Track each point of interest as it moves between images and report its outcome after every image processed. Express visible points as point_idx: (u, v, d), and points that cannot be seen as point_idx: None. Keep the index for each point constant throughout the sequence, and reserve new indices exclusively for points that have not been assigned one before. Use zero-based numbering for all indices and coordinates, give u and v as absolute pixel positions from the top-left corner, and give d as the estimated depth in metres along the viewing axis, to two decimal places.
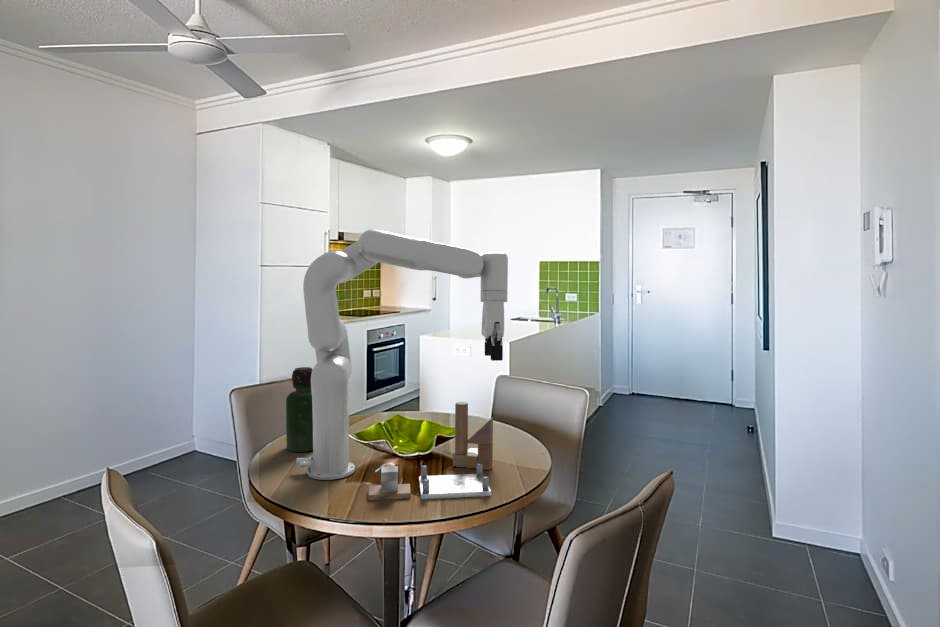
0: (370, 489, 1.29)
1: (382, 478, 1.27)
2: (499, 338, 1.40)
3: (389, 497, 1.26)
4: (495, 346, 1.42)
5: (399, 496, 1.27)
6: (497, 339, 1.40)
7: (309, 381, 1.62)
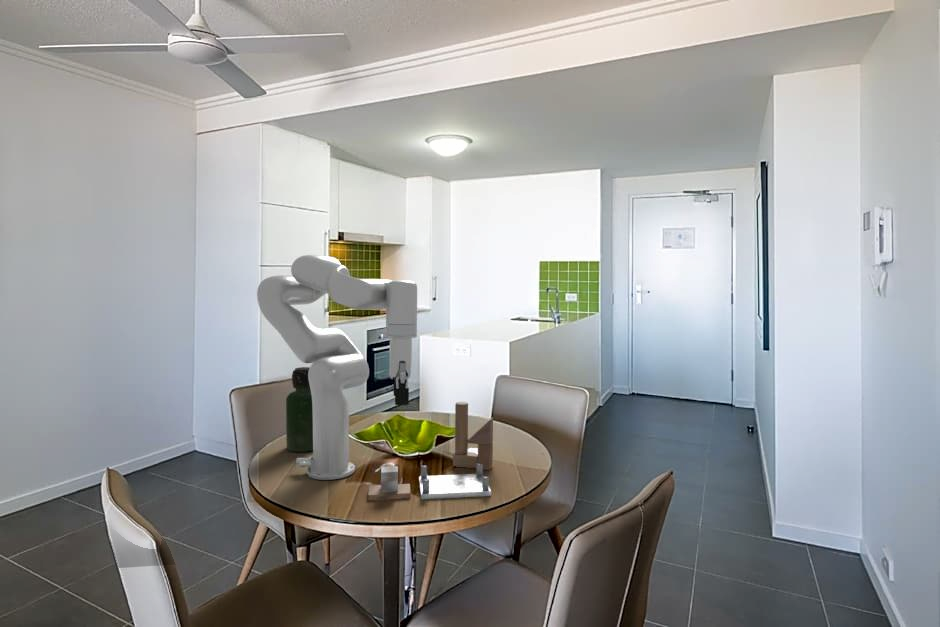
0: (370, 489, 1.29)
1: (382, 478, 1.27)
2: (403, 380, 1.22)
3: (389, 497, 1.26)
4: (399, 389, 1.24)
5: (399, 496, 1.27)
6: (401, 382, 1.22)
7: None
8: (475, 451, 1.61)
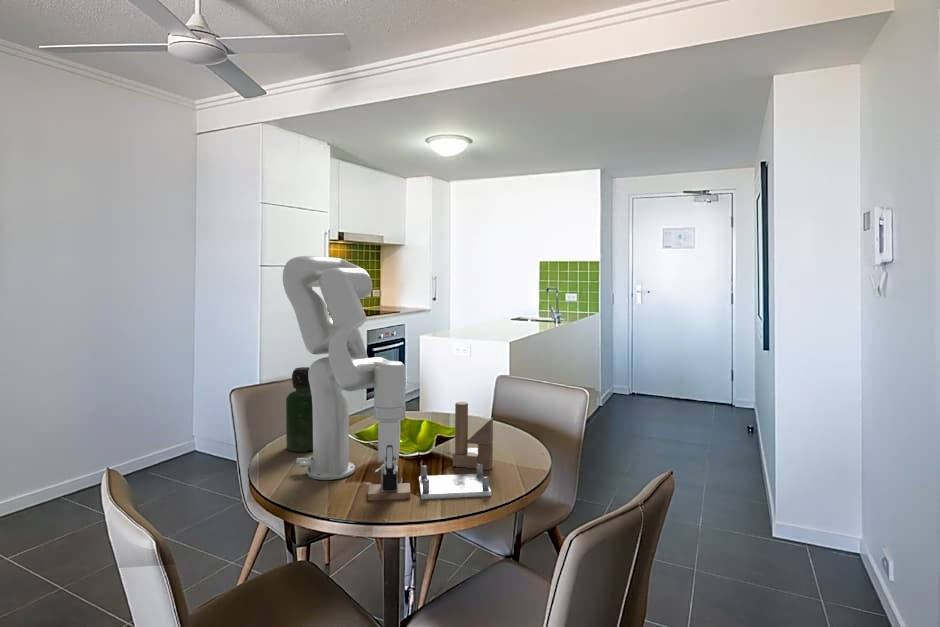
0: (370, 488, 1.29)
1: (382, 477, 1.27)
2: None
3: (389, 496, 1.26)
4: (387, 475, 1.26)
5: (399, 495, 1.27)
6: (388, 470, 1.24)
7: None
8: (474, 451, 1.61)
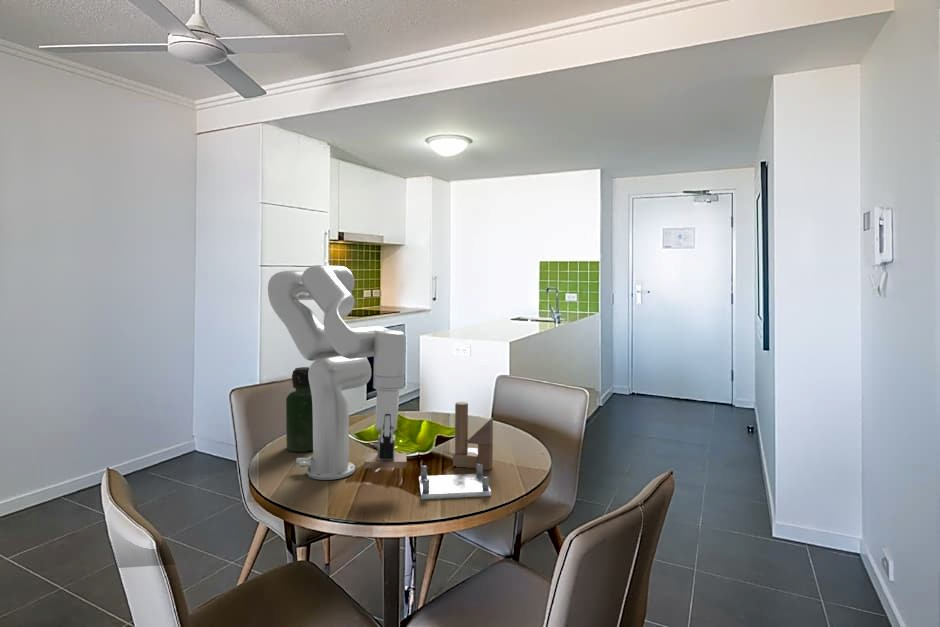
0: (366, 456, 1.29)
1: (379, 446, 1.27)
2: None
3: (385, 465, 1.27)
4: (384, 444, 1.26)
5: (395, 464, 1.27)
6: (385, 438, 1.24)
7: None
8: (473, 451, 1.61)
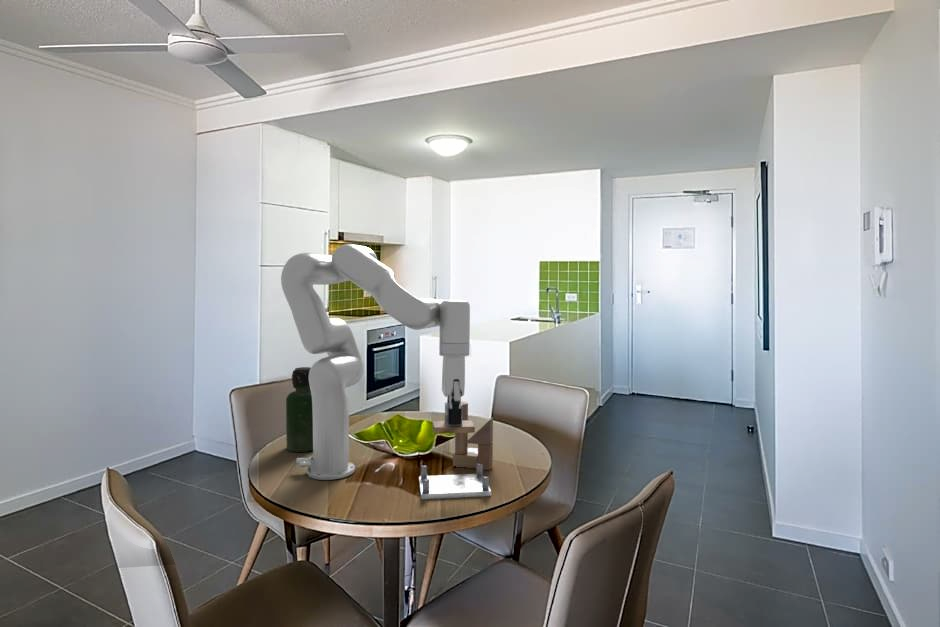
0: (434, 423, 1.32)
1: (447, 412, 1.30)
2: None
3: (454, 430, 1.30)
4: (453, 409, 1.29)
5: (464, 429, 1.30)
6: (454, 403, 1.27)
7: None
8: (473, 451, 1.61)
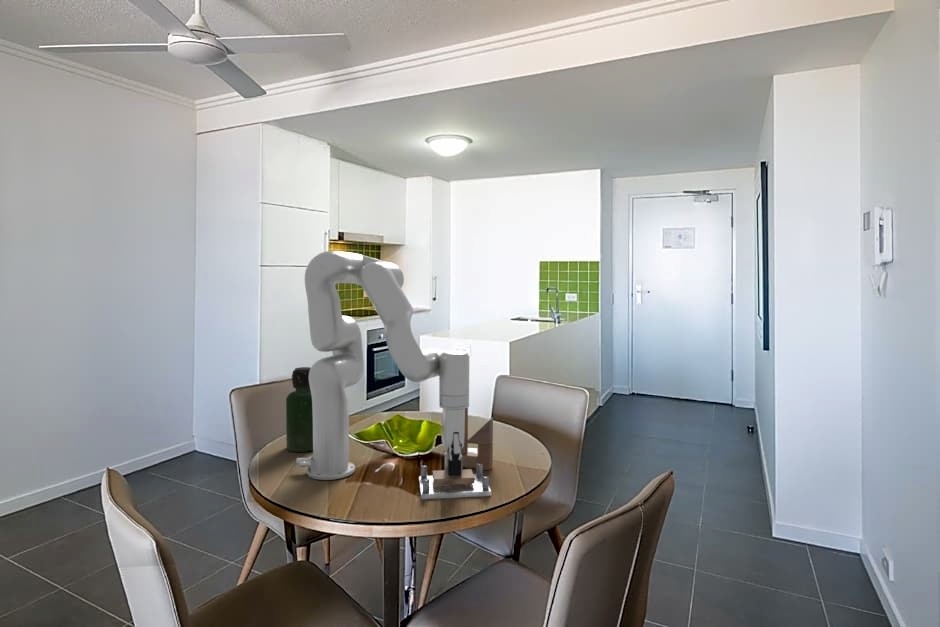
0: (434, 474, 1.33)
1: (447, 463, 1.31)
2: None
3: (454, 481, 1.30)
4: (453, 461, 1.30)
5: (463, 480, 1.31)
6: (454, 456, 1.28)
7: None
8: (472, 451, 1.61)
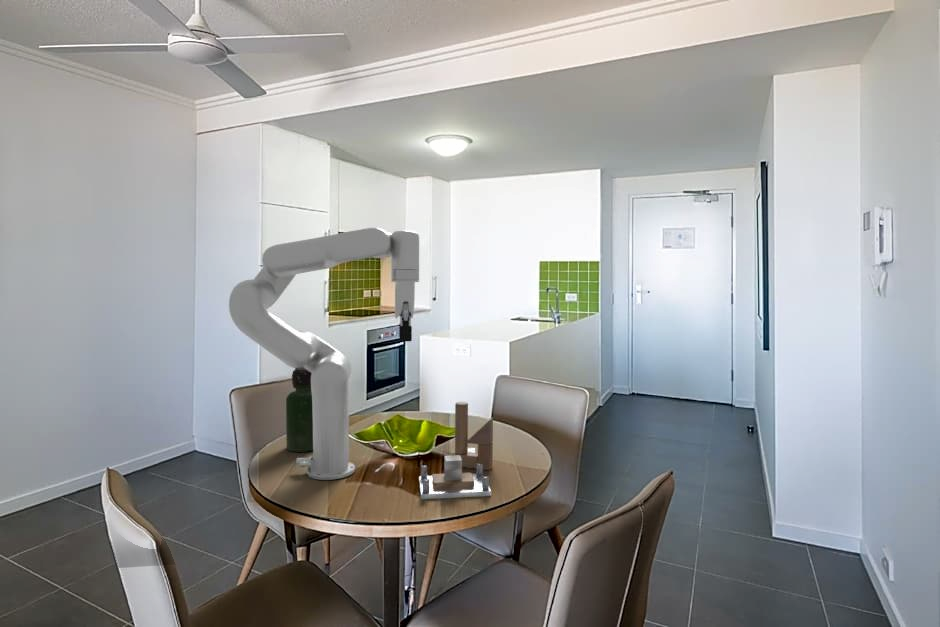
0: (434, 477, 1.33)
1: (447, 466, 1.31)
2: (406, 318, 1.37)
3: (454, 485, 1.31)
4: (403, 326, 1.39)
5: (463, 484, 1.31)
6: (404, 319, 1.37)
7: (309, 381, 1.62)
8: (470, 451, 1.61)
